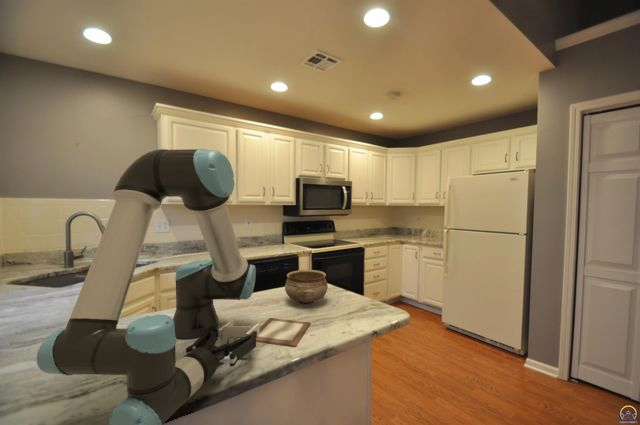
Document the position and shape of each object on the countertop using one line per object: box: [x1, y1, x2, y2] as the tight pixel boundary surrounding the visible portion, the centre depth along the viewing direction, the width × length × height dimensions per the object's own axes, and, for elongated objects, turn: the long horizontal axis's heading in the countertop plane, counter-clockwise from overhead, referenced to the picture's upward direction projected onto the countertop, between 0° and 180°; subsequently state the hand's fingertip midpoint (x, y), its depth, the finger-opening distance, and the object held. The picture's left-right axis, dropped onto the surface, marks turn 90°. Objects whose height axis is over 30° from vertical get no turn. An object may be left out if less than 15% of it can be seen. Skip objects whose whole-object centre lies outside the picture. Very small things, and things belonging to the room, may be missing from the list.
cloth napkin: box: [256, 317, 311, 348], centre depth 89 cm, size 16×16×1 cm
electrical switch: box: [220, 325, 253, 359], centre depth 75 cm, size 8×5×8 cm, turn 91°
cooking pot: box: [284, 269, 328, 305], centre depth 117 cm, size 25×19×12 cm
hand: (245, 326), depth 80 cm, fingers closed on electrical switch, 8 cm apart
